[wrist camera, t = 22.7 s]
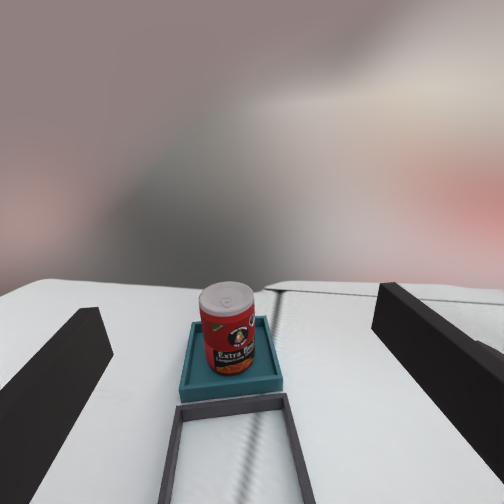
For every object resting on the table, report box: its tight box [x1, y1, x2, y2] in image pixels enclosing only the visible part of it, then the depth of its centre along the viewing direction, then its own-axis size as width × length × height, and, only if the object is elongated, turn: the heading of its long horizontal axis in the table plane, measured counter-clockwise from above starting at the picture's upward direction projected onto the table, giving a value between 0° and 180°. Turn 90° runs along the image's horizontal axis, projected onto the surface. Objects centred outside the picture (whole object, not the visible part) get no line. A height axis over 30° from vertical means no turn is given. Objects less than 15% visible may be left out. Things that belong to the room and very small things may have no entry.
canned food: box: [199, 282, 255, 376], centre depth 35 cm, size 8×8×11 cm
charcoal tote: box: [158, 393, 316, 504], centre depth 23 cm, size 13×13×2 cm
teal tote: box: [179, 316, 283, 403], centre depth 36 cm, size 13×13×2 cm
